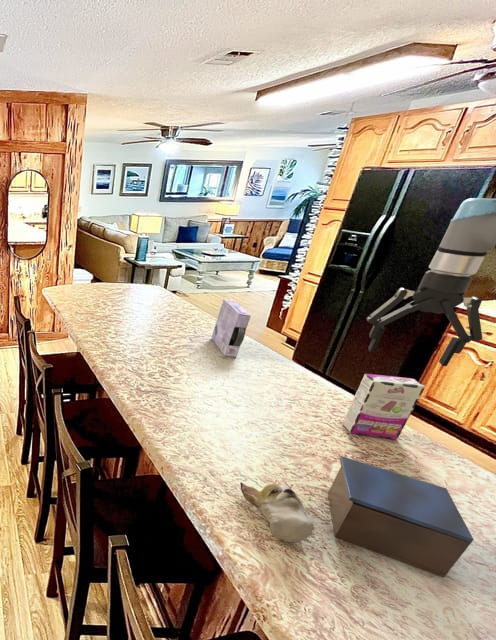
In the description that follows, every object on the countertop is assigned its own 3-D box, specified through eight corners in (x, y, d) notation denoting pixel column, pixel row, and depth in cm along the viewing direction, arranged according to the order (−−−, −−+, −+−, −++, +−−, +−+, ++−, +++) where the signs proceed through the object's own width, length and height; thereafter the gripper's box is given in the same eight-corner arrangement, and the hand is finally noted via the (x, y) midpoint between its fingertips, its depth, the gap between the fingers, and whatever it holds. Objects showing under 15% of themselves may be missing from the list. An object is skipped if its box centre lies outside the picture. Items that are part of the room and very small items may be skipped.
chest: (334, 536, 75) (352, 503, 71) (327, 492, 85) (343, 461, 81) (444, 577, 68) (471, 543, 64) (421, 523, 78) (444, 491, 74)
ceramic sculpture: (276, 512, 69) (244, 460, 82) (262, 547, 72) (233, 492, 86) (342, 521, 67) (298, 467, 81) (324, 557, 71) (285, 499, 84)
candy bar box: (386, 429, 107) (414, 377, 100) (397, 440, 103) (427, 387, 96) (340, 423, 109) (364, 372, 102) (349, 433, 105) (375, 381, 98)
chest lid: (348, 500, 71) (350, 497, 71) (339, 458, 82) (341, 455, 81) (471, 543, 64) (474, 539, 63) (444, 491, 74) (446, 488, 74)
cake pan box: (238, 359, 147) (252, 314, 139) (224, 357, 147) (237, 313, 139) (222, 339, 164) (234, 299, 156) (210, 338, 164) (221, 298, 156)
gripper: (522, 277, 84) (469, 364, 93) (376, 262, 95) (341, 340, 105) (540, 285, 78) (481, 376, 88) (382, 267, 90) (345, 350, 99)
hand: (405, 357), depth 96 cm, fingers open, 13 cm apart
